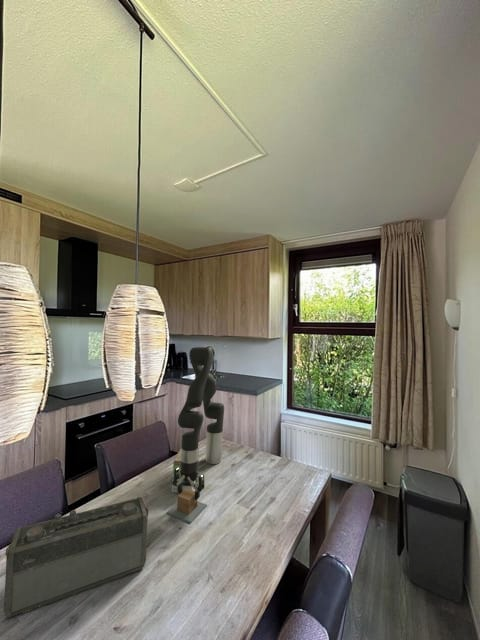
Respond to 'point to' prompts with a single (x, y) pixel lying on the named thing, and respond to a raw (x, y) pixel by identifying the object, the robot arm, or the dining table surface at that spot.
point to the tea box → (175, 465)
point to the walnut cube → (186, 501)
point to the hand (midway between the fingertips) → (188, 496)
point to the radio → (74, 554)
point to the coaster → (186, 517)
